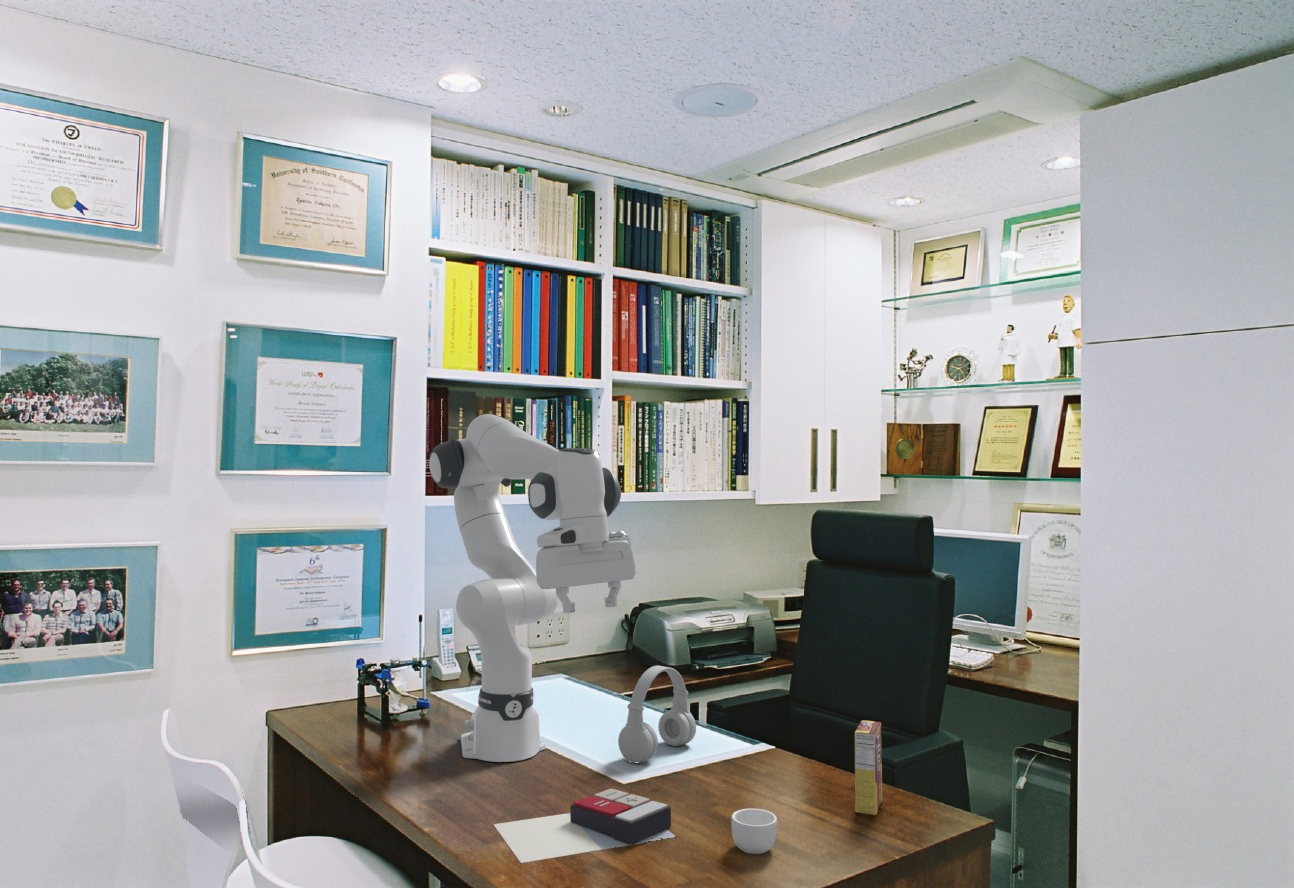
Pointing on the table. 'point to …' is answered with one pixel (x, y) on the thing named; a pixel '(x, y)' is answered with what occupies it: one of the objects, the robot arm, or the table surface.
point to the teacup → (754, 830)
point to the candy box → (868, 767)
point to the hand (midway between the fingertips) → (590, 609)
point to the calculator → (621, 815)
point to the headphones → (673, 725)
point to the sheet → (558, 838)
